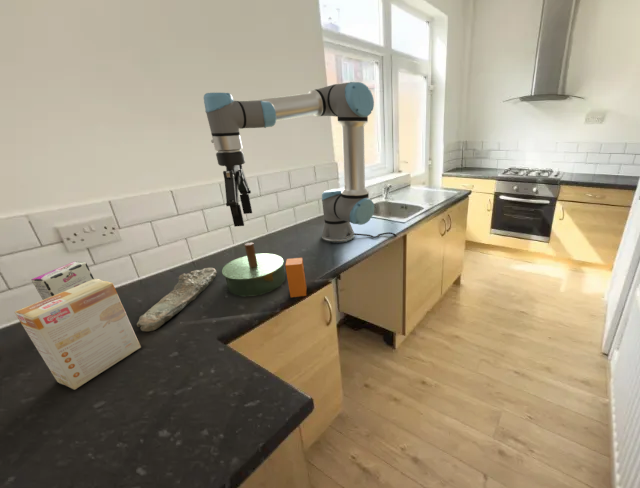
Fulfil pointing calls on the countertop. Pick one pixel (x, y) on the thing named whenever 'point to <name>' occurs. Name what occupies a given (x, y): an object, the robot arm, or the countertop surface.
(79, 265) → the candy bar box
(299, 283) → the snack box
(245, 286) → the tin
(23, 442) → the countertop surface
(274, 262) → the tin lid
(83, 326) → the coffeecake box
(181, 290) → the elongated rock
